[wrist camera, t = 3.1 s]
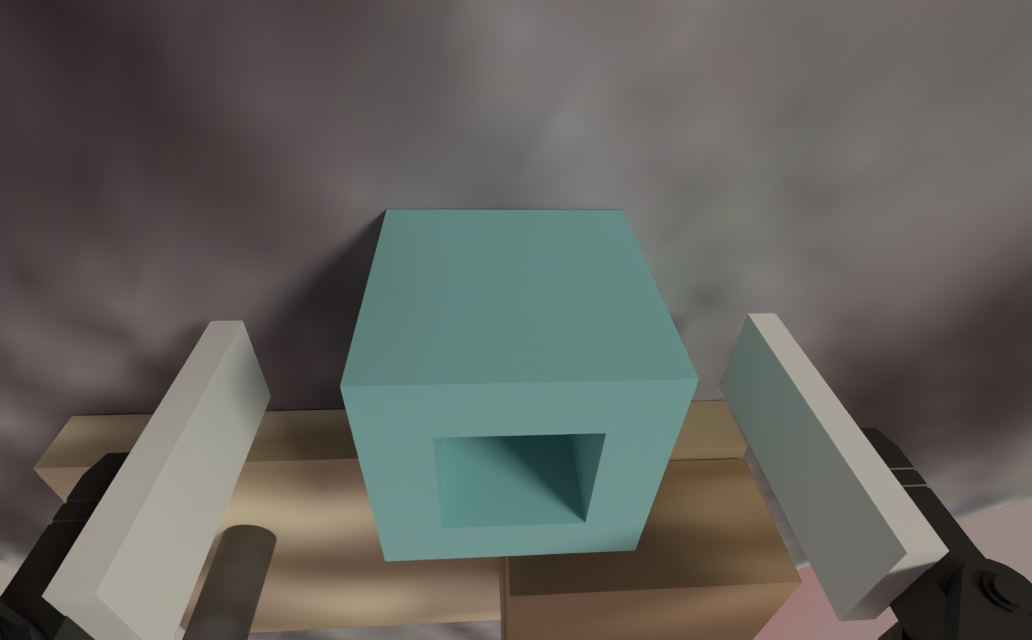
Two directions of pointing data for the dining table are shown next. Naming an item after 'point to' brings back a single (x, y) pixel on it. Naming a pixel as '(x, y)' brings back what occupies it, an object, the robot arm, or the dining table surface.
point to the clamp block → (662, 569)
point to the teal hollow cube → (512, 384)
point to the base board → (323, 529)
